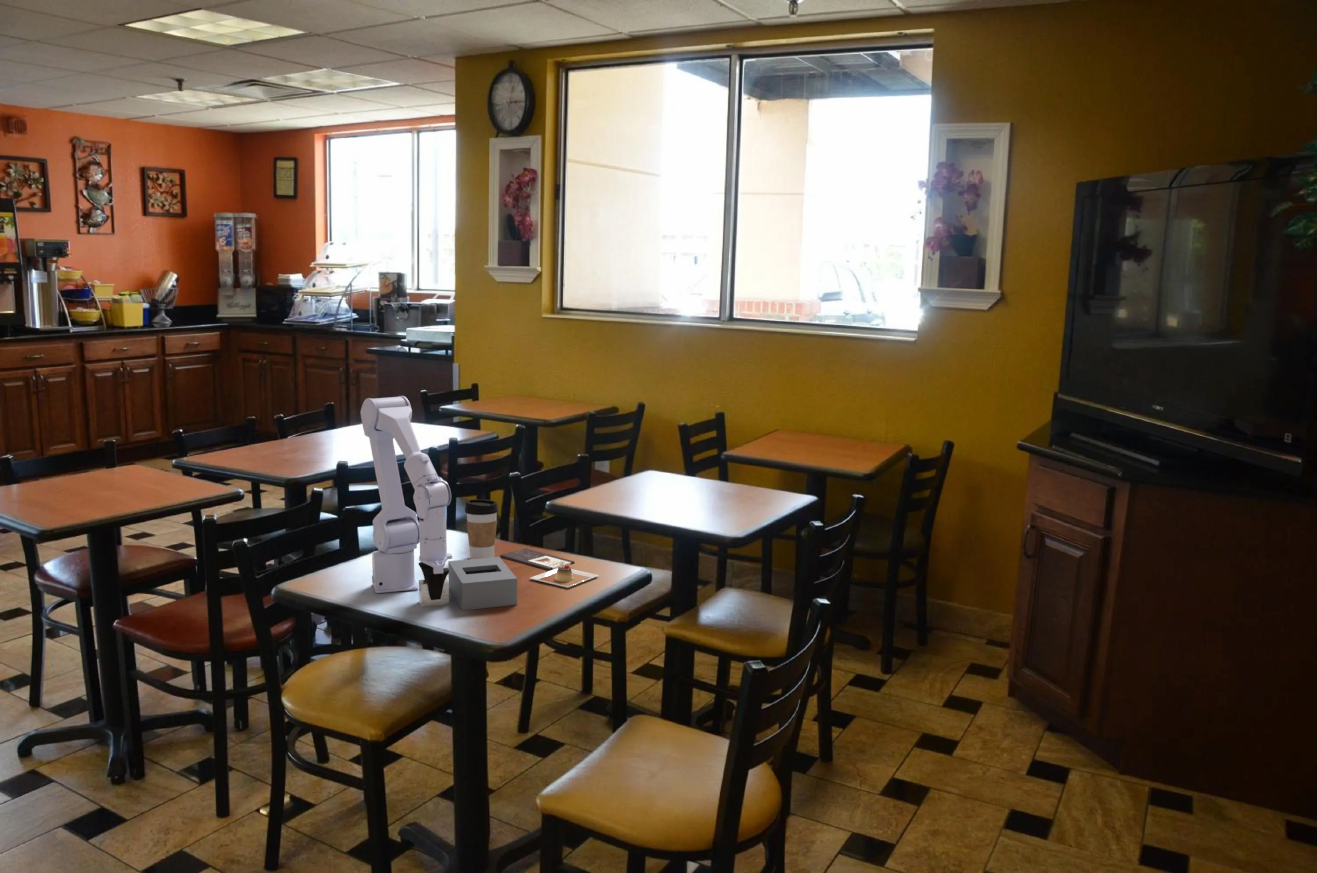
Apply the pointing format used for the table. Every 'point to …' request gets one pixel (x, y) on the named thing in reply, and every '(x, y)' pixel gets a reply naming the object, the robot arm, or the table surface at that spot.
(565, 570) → the dessert
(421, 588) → the cream block
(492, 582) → the grey tissue box
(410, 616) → the table surface
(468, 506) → the coffee cup
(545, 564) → the chocolate bar
